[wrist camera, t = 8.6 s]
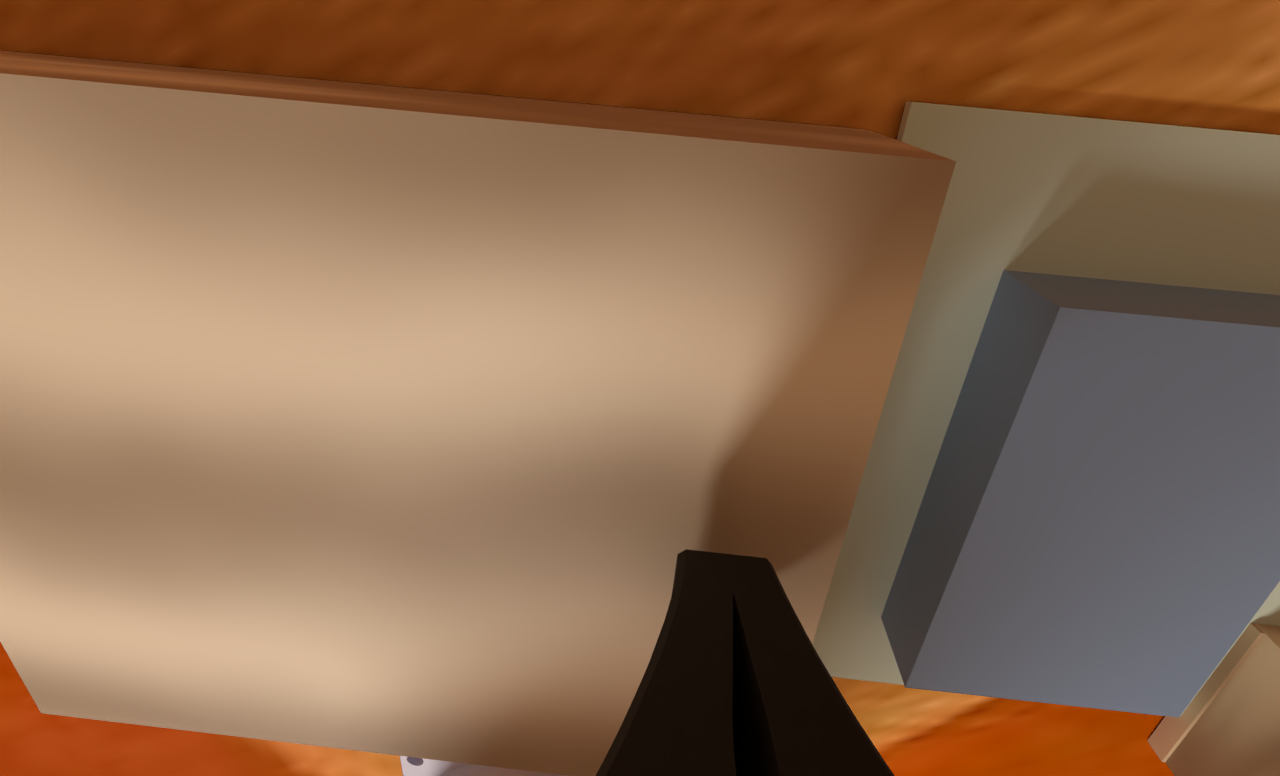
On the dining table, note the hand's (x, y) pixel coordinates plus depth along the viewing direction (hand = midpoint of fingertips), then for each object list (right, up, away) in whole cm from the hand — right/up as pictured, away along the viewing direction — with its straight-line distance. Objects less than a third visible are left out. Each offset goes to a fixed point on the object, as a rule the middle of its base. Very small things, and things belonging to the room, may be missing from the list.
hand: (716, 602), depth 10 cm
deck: (-6, +3, +4) cm, 8 cm away
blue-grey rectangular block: (+8, 0, +2) cm, 8 cm away
